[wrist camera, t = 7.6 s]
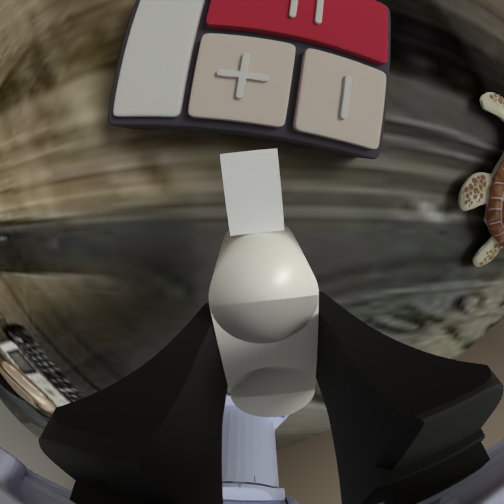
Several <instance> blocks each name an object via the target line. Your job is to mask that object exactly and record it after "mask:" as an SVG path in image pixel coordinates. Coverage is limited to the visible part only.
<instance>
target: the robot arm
mask: <svg viewBox="0 0 504 504" xmlns="http://www.w3.org/2000/svg"><path fill="white" fill-rule="evenodd" d="M316 378H317V381H318V384H319V387H320V390H321V393H322V396H323V399H324V402H325V405H326V408H327V412H328V415H329V420H330V425H331V430H332V435H333V441H334V447H335V452H336V458H337V465H338V473H339V480H340V489H341V498H342V504H504V439H503V440H501V441H500V442H499V443H497V444H496V445H494V446H493V447H492V448H490V449H489V450H487V451H486V450H485V449H484V447H483V445H482V443H481V441H482V440H483V439H484V438H485V435H484V433H483V431H482V430H481V427H482V426H483V424H484V423H485V422H486V420H487V419H488V418H489V416H490V415H491V414H492V412H493V411H494V410H495V408H496V407H497V405H498V403H499V402H500V400H501V397H502V395H503V385H502V383H501V382H500V381H499V379H498V378H497V377H496V376H495V374H494V373H493V372H492V371H491V369H490V368H489V367H488V366H487V365H483V364H476V363H469V362H462V361H456V360H452V359H448V358H444V357H440V356H436V355H433V354H430V353H426V352H423V351H421V350H418V349H415V348H413V347H410V346H408V345H405V344H403V343H401V342H398V341H396V340H394V339H392V338H390V337H388V336H386V335H384V334H382V333H381V332H379V331H377V330H375V329H374V328H372V327H370V326H369V325H367V324H366V323H364V322H362V321H361V320H359V319H358V318H356V317H355V316H354V315H352V314H351V313H349V312H348V311H347V310H345V309H344V308H343V307H341V306H340V305H339V304H337V303H336V302H335V301H333V300H332V299H331V298H330V297H328V296H327V295H326V294H324V293H323V292H319V316H318V347H317V367H316ZM227 387H228V384H227V380H226V376H225V372H224V368H223V364H222V360H221V356H220V351H219V347H218V343H217V338H216V334H215V330H214V325H213V321H212V316H211V311H210V307H209V303H206V304H205V305H204V306H203V307H202V308H201V309H200V311H199V312H198V313H197V314H196V315H195V316H194V317H193V319H192V320H191V321H190V322H189V323H188V324H187V325H186V326H185V328H184V329H183V330H182V331H181V332H180V333H179V334H178V335H177V336H176V337H175V338H174V339H173V340H172V341H171V342H170V343H169V344H168V345H167V346H166V347H165V348H164V349H162V350H161V351H160V352H159V353H158V354H157V355H155V356H154V357H153V358H152V359H150V360H149V361H148V362H147V363H145V364H144V365H143V366H141V367H140V368H138V369H137V370H135V371H134V372H132V373H131V374H129V375H128V376H126V377H124V378H123V379H121V380H120V381H118V382H116V383H114V384H113V385H111V386H109V387H107V388H105V389H103V390H101V391H99V392H97V393H95V394H92V395H90V396H88V397H85V398H83V399H80V400H77V401H75V402H72V403H69V404H66V405H63V406H60V407H57V408H56V409H55V411H54V413H53V414H52V416H51V418H50V420H49V422H48V424H47V425H46V427H45V429H44V431H43V433H42V435H41V437H40V439H39V444H40V447H41V449H42V450H43V452H44V453H45V454H46V455H47V456H48V457H49V458H50V459H51V460H52V461H53V462H54V463H55V464H56V465H58V466H59V467H60V468H61V469H62V470H64V471H65V472H66V473H67V474H68V475H70V476H71V477H72V478H74V479H75V480H76V482H75V484H74V487H73V490H72V491H71V490H69V489H67V488H64V487H62V486H60V485H58V484H56V483H54V482H52V481H50V480H48V479H46V478H43V477H42V476H40V475H38V474H36V473H34V472H32V471H30V470H29V469H27V468H26V466H25V465H24V464H22V463H21V462H20V461H19V460H18V459H17V458H15V457H14V456H13V455H11V454H10V453H8V452H7V451H5V450H4V449H2V448H1V447H0V504H299V503H298V502H297V501H295V500H294V499H293V498H292V497H290V496H288V497H285V493H284V488H279V483H278V470H277V457H276V444H275V432H274V430H275V429H276V428H277V427H278V426H279V425H280V424H281V423H282V422H283V421H284V420H285V419H286V418H287V417H288V416H289V415H290V414H288V415H285V416H280V417H258V416H253V415H250V414H247V413H245V412H243V411H242V410H240V409H239V408H237V407H236V406H235V404H234V403H233V401H232V399H231V396H230V395H227Z"/></svg>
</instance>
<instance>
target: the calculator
mask: <svg viewBox="0 0 504 504" xmlns="http://www.w3.org/2000/svg"><path fill="white" fill-rule="evenodd" d="M389 67H390V10H389V8H388V7H387V6H385V5H384V4H382V3H380V2H377V1H375V0H136V3H135V6H134V9H133V11H132V14H131V17H130V21H129V24H128V27H127V30H126V34H125V37H124V41H123V45H122V48H121V52H120V56H119V60H118V65H117V69H116V74H115V79H114V84H113V89H112V95H111V101H110V107H109V114H108V121H109V123H110V124H111V125H114V126H120V127H126V128H133V129H167V130H187V131H204V132H215V133H225V134H234V135H242V136H249V137H257V138H263V139H270V140H276V141H282V142H288V143H293V144H298V145H303V146H308V147H313V148H318V149H323V150H327V151H332V152H336V153H340V154H344V155H349V156H353V157H360V158H368V159H376V158H377V157H378V156H379V154H380V150H381V144H382V137H383V130H384V122H385V114H386V105H387V94H388V82H389Z"/></svg>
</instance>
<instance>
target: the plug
mask: <svg viewBox="0 0 504 504" xmlns="http://www.w3.org/2000/svg"><path fill="white" fill-rule="evenodd" d="M220 160H221V169H222V177H223V185H224V193H225V200H226V208H227V216H228V223H229V230H228V232H227V233H226V235H225V237H224V239H223V242H222V245H221V248H220V252H219V255H218V259H217V263H216V266H215V270H214V273H213V277H212V281H211V284H210V289H209V307H210V311H211V316H212V321H213V325H214V330H215V334H216V338H217V343H218V347H219V351H220V356H221V360H222V364H223V368H224V372H225V376H226V380H227V384H228V388H229V392H230V396H231V399H232V401H233V403H234V404H235V406H236V407H237V408H239V409H240V410H242V411H243V412H245V413H247V414H250V415H253V416H258V417H280V416H285V415H288V414H291V413H294V412H296V411H298V410H300V409H301V408H303V407H304V406H306V405H307V404H308V403H309V402H310V400H311V399H312V397H313V395H314V392H315V383H316V367H317V347H318V316H319V290H318V284H317V281H316V278H315V276H314V274H313V272H312V270H311V268H310V266H309V264H308V262H307V260H306V258H305V256H304V254H303V252H302V250H301V248H300V246H299V244H298V243H297V241H296V239H295V237H294V235H293V233H292V232H291V230H290V229H289V228H288V227H287V226H286V225H285V224H284V218H283V206H282V194H281V182H280V171H279V161H278V151H277V148H274V149H263V150H252V151H243V152H234V153H226V154H220Z"/></svg>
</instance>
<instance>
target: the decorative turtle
mask: <svg viewBox="0 0 504 504" xmlns="http://www.w3.org/2000/svg"><path fill="white" fill-rule="evenodd" d="M480 106H481V107H482V109H483V110H485V111H487V112H490V113H492V114H494V115H496V116H497V117H498V118H500V119H501V120H502V121H503V122H504V98H503V97H501V96H499V95H497V94H495V93H492V92H488V93H485V94H483V95H482V96H481V97H480ZM458 204H459V207H460V208H461V209H462V210H463V211H467V210H470V209H473V208H476V207H478V206H480V205H483V204H486V209H485V215H484V222H485V223H486V224H487V226H488V230H489V232H490V234H491V237H490V238H489V239H488V241H487V242H486V243H485V244H484V245H483V246H482V247H481V248H480V249H479V250H478V251H477V253H476V254H475V255H474V257H473V259H472V261H473V264H474V265H475V266H477V267H481V266H483V265H485V264H487V263H488V262H490V261H491V260H492V259H493V258H494V257H495V256H496V255H497V254H498V252H499V251H500V249H501V248H502V247H503V246H504V152H503V154H502V156H501V157H500V159H499V161H498V162H497V164H496V166H495V167H494V169H493V171H492V173H491V174H489V173H484V172H478V173H475V174H472V175H471V176H470V177H469V178H467V180H466V181H465V182H464V184H463V185H462V187H461V189H460V192H459V197H458Z"/></svg>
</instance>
